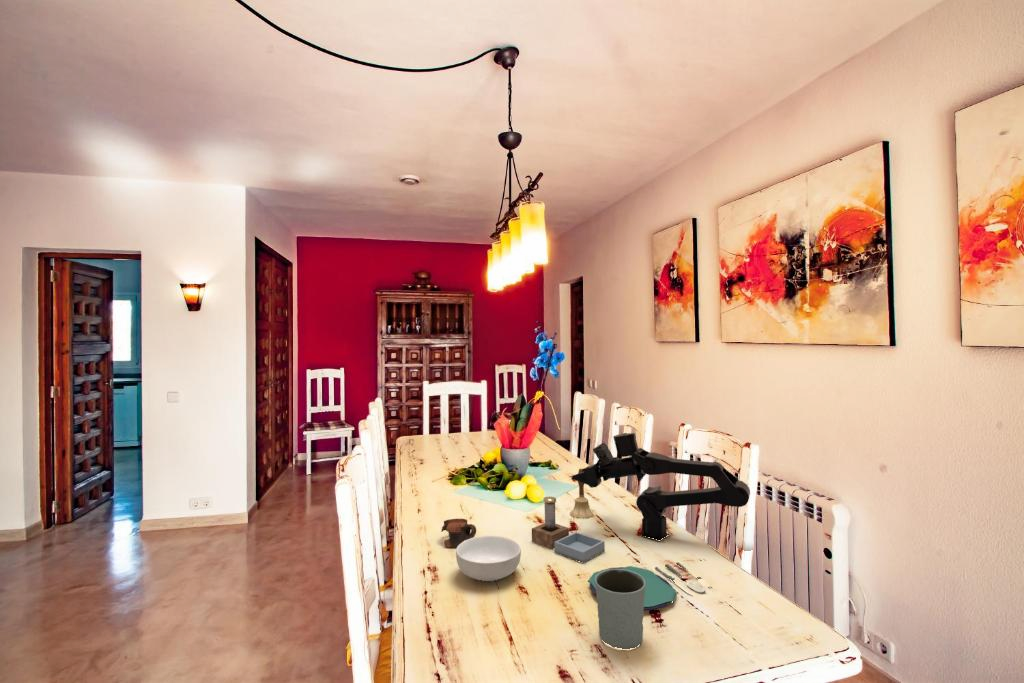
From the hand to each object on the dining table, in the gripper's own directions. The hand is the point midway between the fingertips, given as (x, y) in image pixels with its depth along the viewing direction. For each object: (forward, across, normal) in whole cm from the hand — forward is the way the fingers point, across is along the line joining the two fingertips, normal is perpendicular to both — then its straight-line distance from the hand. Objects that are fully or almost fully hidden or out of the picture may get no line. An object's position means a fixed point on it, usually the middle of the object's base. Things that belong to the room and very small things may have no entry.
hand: (577, 474), depth 163 cm
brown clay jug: (+30, +31, +10) cm, 44 cm away
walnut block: (+6, +18, +15) cm, 24 cm away
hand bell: (+6, -8, +16) cm, 18 cm away
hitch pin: (+6, +18, +15) cm, 25 cm away
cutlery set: (-26, +33, +24) cm, 49 cm away
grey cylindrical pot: (-26, +56, +24) cm, 66 cm away
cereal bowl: (+11, +45, +14) cm, 48 cm away
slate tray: (-5, +21, +18) cm, 28 cm away
